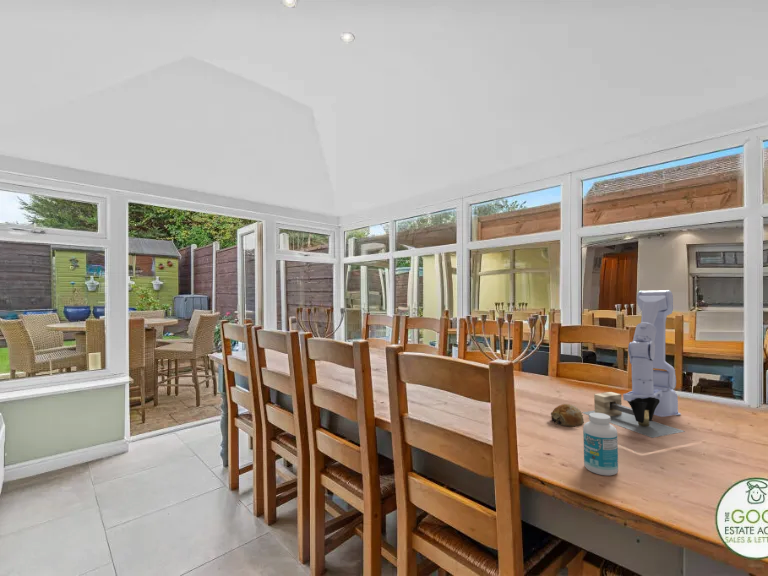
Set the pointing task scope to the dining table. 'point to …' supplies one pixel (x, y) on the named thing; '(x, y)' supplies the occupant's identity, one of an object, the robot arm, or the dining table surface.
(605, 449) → the pill bottle
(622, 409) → the hook rod
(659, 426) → the base board
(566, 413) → the bread roll
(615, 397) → the eye block
